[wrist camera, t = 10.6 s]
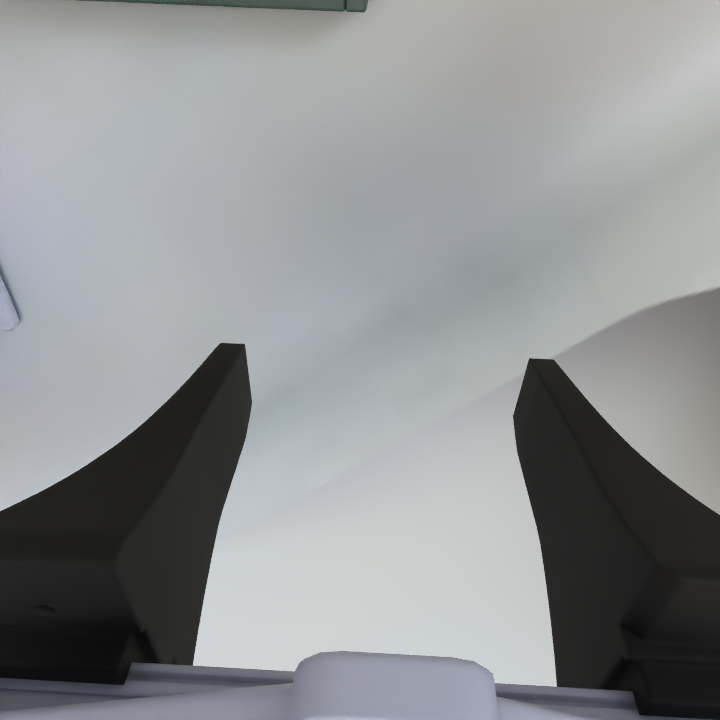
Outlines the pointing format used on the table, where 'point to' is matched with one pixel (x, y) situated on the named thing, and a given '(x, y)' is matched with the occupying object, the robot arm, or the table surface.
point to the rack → (267, 4)
